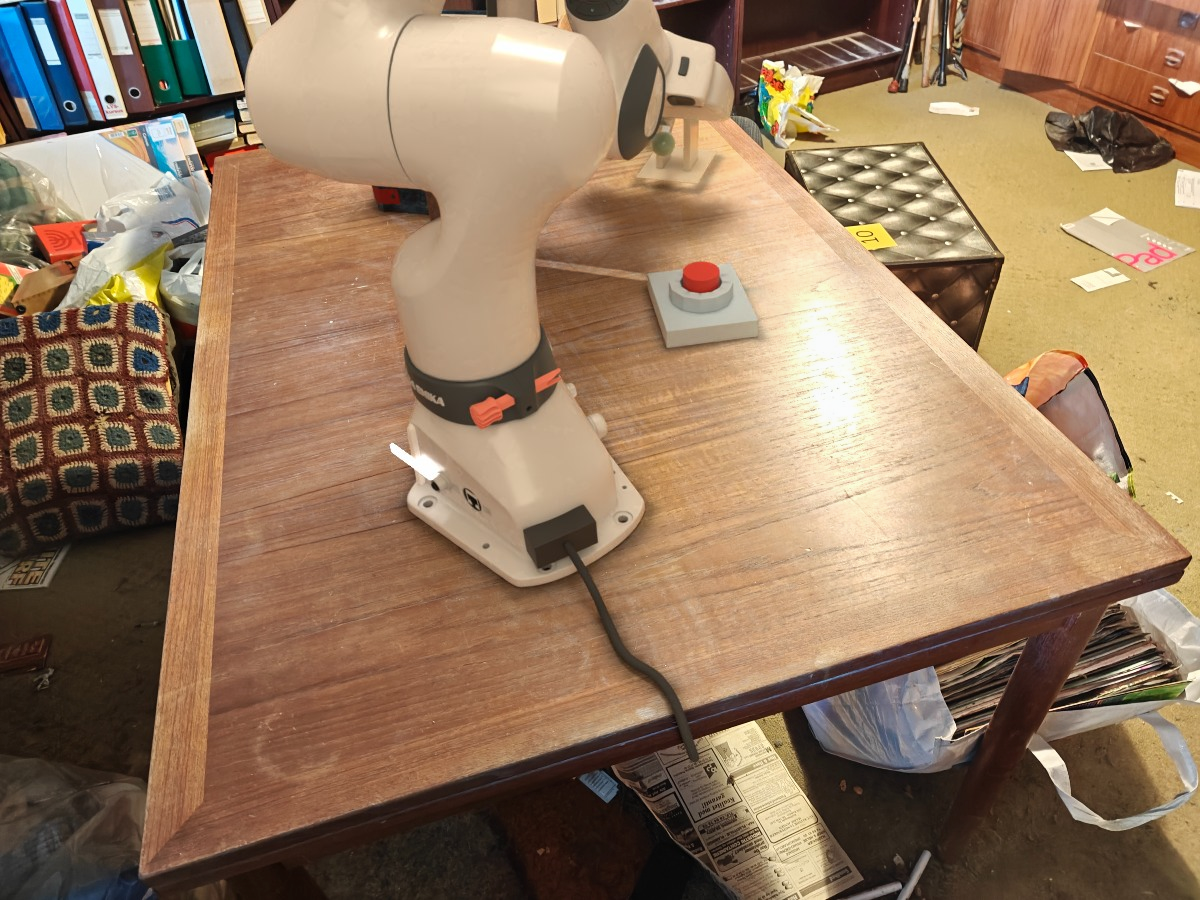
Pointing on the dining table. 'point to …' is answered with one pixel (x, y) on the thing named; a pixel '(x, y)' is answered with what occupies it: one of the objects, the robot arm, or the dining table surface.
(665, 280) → the control block
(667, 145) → the green knob lever
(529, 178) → the robot arm
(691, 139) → the ball knob lever stand
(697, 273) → the button
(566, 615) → the dining table surface
